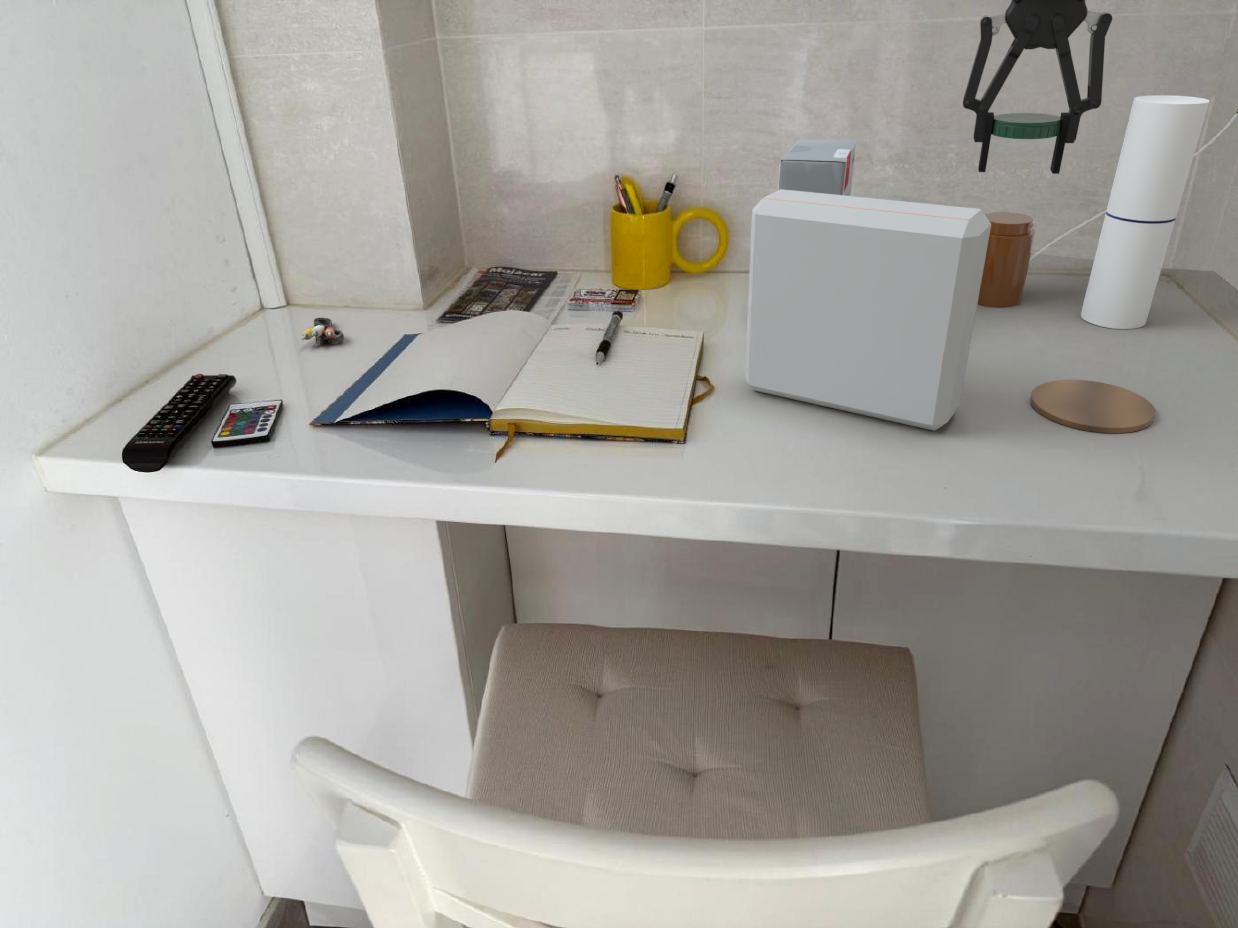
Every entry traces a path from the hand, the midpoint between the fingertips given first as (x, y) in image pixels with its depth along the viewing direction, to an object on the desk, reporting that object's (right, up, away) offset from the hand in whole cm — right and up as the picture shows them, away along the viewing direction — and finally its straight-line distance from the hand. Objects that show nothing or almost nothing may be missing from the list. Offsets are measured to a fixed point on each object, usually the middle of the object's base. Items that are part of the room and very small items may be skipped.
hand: (1017, 170), depth 107 cm
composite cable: (-86, -20, +4) cm, 88 cm away
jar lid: (0, +5, -3) cm, 6 cm away
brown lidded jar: (0, -14, +8) cm, 16 cm away
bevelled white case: (-25, -29, -17) cm, 42 cm away
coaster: (-2, -30, -20) cm, 37 cm away
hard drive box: (-24, -16, +7) cm, 30 cm away
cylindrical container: (+12, -18, 0) cm, 22 cm away
